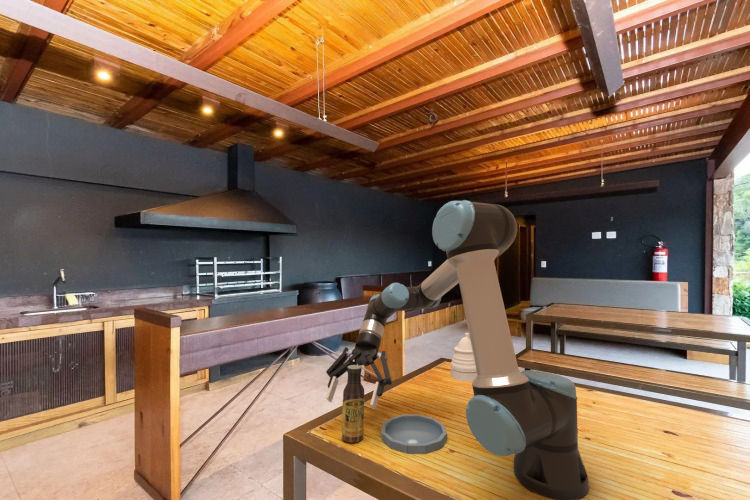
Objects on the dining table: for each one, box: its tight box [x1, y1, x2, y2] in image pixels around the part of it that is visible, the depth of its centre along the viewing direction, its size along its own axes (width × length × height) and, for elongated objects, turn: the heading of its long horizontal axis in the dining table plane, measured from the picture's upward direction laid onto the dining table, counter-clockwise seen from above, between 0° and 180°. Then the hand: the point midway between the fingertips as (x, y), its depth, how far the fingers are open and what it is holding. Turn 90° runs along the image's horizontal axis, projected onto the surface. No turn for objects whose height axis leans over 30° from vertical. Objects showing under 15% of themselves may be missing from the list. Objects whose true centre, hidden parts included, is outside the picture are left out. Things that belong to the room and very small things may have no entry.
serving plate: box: [381, 414, 448, 455], centre depth 98 cm, size 18×18×2 cm
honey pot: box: [450, 332, 477, 383], centre depth 148 cm, size 13×13×18 cm
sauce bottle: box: [341, 364, 366, 444], centre depth 97 cm, size 6×6×20 cm
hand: (350, 403), depth 96 cm, fingers open, 13 cm apart
